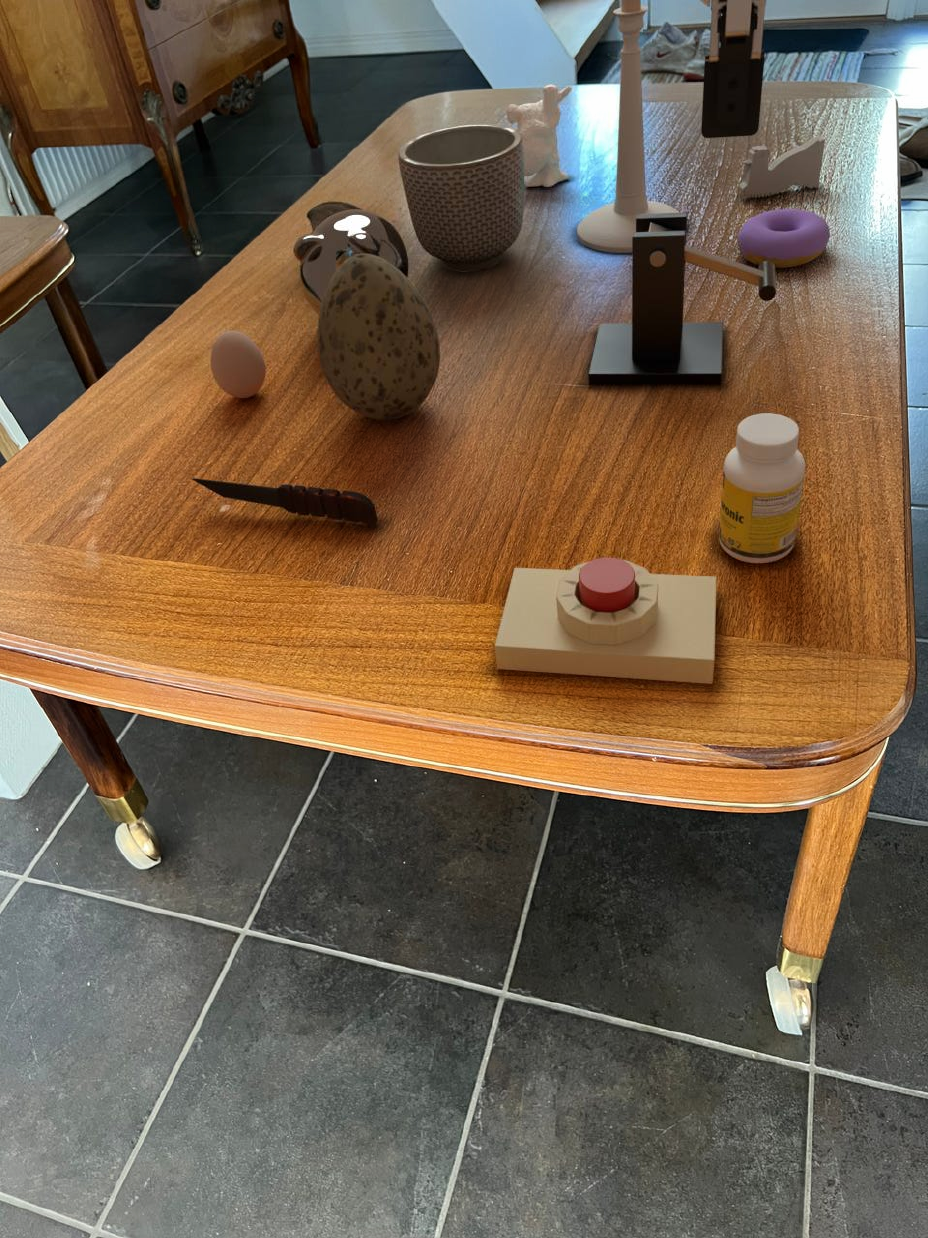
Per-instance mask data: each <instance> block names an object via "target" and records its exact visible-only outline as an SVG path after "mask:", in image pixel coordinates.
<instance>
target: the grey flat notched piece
mask: <svg viewBox="0 0 928 1238" xmlns="http://www.w3.org/2000/svg"><path fill="white" fill-rule="evenodd" d="M825 144H826V139H825V138H823V137H822V136H817V137H815V136H812V137H811V138H809V139H808V140H807V141H805V142H804V143H803V144H801V145H799V146H797V147H793V148H792V149H789V150H787V151H785V152H784V153H782V154H781V155H779V156H778V157H776V158H775V159H774V160H773V161H772V162H770V164H769V163H768V162H769V161H768V160H769V158H770V153H771V152H770V150H769V148H768V147H767V146H765V145H764V144H763V145H761V146H760V145H756V146H752V147H751V149H749V150H748V154H747V155H748V156H747V159H745V160H744V161H741V162H740V164H742V165H745V172H744V178H743V181H742V182H740V184H738V189H739V190H740V192H741V193H742V194H743V195H745V196H747V197H751V198H764V197H765V198H767V196H768V197H770V196H773V195H776V194H779V192H781V193H783V192H785V190H788V189H791V188H792V187H793V186H794V187H796V186H805V187H806V188H809V189H811V190H812V189H813V188H815V189H819V185H820V178H821V172H822V166H823V165H822V164H823V158H824V151H825Z"/></svg>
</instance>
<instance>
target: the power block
mask: <svg viewBox="0 0 928 1238" xmlns="http://www.w3.org/2000/svg"><path fill="white" fill-rule="evenodd" d="M623 560H624V561H626V562H627V563H629V564H630V565H631V566H632V568H633V569H634V572H635V597H634V600H633V602H632V603H631V604H630V605H629V606H628V607H626V608H625V609H623V610H620V611H617V612H613V613H606V612H596V611H593V610H591V609H589V608H587V607H586V606H585V605H584V604H583V603H582V601H581V599H580V592H579V573H580V570H581V569H582V567H583V566H584V565H585V564H586V563H588V562H590V561H591V560H590V561H586V562H583V563H579V564H576V565H574V566H573V567H572V568H571V569H556V568H555V569H554V568H533V567H532V568H531V567H514V568H513V572H512V576H511V580H510V584H509V588H508V591H507V594H506V595H507V596H506V600H505V603H504V607H503V611H502V615H501V619H500V623H499V626H498V631H497V633H496V639H495V642H494V654H495V661H496V668H497V670H507V671H518V672H519V671H521V672H536V673H547V674H548V673H549V674H561V675H562V674H564V675H579V676H590V677H591V676H594V677H606V678H622V679H635V680H651V681H664V682H679V683H692V684H693V683H694V684H706V685H707V684H708V685H712V684H713V681H714V672H715V671H714V670H715V658H716V655H715V654H716V623H717V622H716V621H717V620H716V619H717V586H718V585H717V584H718V583H717V582H718V581H717V580H718V577H717V576H712V575H711V576H709V575H690V574H689V575H687V574H686V575H685V574H669V573H668V574H666V573H650V572H649V570H648V568H645V567H643V566H641V565H638V564H636V563H634V562H631V561H629V560H628V559H623Z"/></svg>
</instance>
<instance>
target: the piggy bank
mask: <svg viewBox="0 0 928 1238" xmlns="http://www.w3.org/2000/svg"><path fill="white" fill-rule="evenodd" d="M361 209H362V208H360V209H351V210H345V211H341V212H338V213H335V214H333V215H331V216H329V217H327V218H326V219H325V220H323V221H322V222H321V223H320V224H319V225H318V226H317V227H316V228H315V229H314V230H312V232H311V233H307V234H304V235H302V236H300V237H299V238H297V240H296V241H295V243H294V246H293V250H292V251H293V256H294V257H295V258H296V259H297V261H299V281H300V287H301V290H302V292H303V295H304V298H305V300H306V301H307V303H308V305H309V306H310V307H311V309H312V311H313V312H315V313H316V314H317V315H318V316H319V313H320V307H321V303H322V299H323V296H324V293H325V290H326V288H327V286H328V284H329V281H330V280H331V278H332V276H333V274H334V273H335V271H336V270H337V269H338V268H339V266H340V265H341V264H342V263H343V262H344V261H345V260H347V259H348V258H350V257H351V256H354V255H357V254H364V253H365V254H372V255H375V256H378V257H381V258H383V259H385V260H386V261H388V262H389V263H391V264H392V265H394V266H395V267H396V268H397V269H399V270H400V271H401V272H402V273H403V274H404V275H405V276H406V277H407V278H408V279H409V257H408V252H407V249H406V245H405V243H404V240H403V238H402V236H401V234H400V232H399V231H398V230H397V228H396V227H395V226H394V225H393V224H392V223H391V222H390V221H389V220H388V219H386V218H385V217H383V216H382V215H381V214H379V213H376V212H374V211H370V210H368V209H367V210H366V209H362V210H361Z"/></svg>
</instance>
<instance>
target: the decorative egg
mask: <svg viewBox="0 0 928 1238" xmlns="http://www.w3.org/2000/svg"><path fill="white" fill-rule="evenodd" d="M317 350H318V357H319V362H320V366H321V369H322V372H323V374H324V377H325V379H326V381H327V384H328V385H329V387H330V389H331V390H332V392H333V393H334V395H335V396H336V397H337V398H338V399H339V400H340V401H341V402H342V403H343V404H344V405H345V406H346V407H348V408H349V409H351V410H352V411H353V412H355V413H357V414H359V415H361V416H363V417H366V418H369V419H372V420H378V421H379V420H380V421H387V420H388V421H389V420H391V421H392V420H396V419H399V418H402V417H405V416H407V415H409V414H410V413H412V412H413V411H415V410H417V408H419V407H420V406H421V405H422V404H423V403H424V401H425V400H426V399H427V398H428V396H429V395H430V393H431V392H432V390H433V388H434V386H435V383H436V381H437V378H438V375H439V370H440V363H441V347H440V340H439V334H438V330H437V327H436V324H435V321H434V318H433V316H432V313H431V311H430V309H429V307H428V306H427V303H426V301H425V300H424V298H423V296H422V295H421V294H420V292H419V290H418V289H417V288H416V287H415V285H414V284H413V282H412V281H411V280H410V279H409V277H408V278H407V277H406V276H405V275H404V274H403V273H402V272H401V271H400V270H399V269H397V268H396V267H395V266H394V265H392V264H391V263H389V262H388V261H386V260H385V259H383V258H381V257H378V256H375V255H372V254H365V253H364V254H357V255H354V256H351V257H350V258H348V259H347V260H345V261H344V262H343V263H342V264H341V265H340V266H339V268H338V269H337V270H336V271H335V273H334V274H333V276H332V278H331V280H330V281H329V284H328V286H327V288H326V290H325V293H324V296H323V299H322V303H321V307H320V313H319V315H318V320H317Z"/></svg>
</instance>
